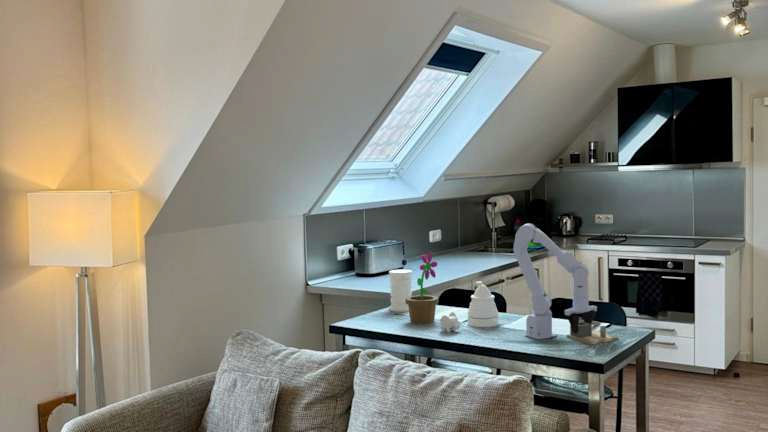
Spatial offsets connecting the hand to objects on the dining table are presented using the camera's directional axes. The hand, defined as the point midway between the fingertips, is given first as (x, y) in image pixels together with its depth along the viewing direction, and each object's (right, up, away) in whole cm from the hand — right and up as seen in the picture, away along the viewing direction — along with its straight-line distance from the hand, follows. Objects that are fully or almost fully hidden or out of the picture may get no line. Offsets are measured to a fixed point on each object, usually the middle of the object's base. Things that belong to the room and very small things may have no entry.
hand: (580, 331), depth 282 cm
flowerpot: (-59, -2, +36) cm, 69 cm away
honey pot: (-34, -1, +29) cm, 45 cm away
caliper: (+7, -2, +16) cm, 18 cm away
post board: (+4, -2, -1) cm, 5 cm away
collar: (0, -1, 0) cm, 1 cm away
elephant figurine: (-48, -3, +17) cm, 51 cm away
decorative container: (-67, 0, +64) cm, 93 cm away
